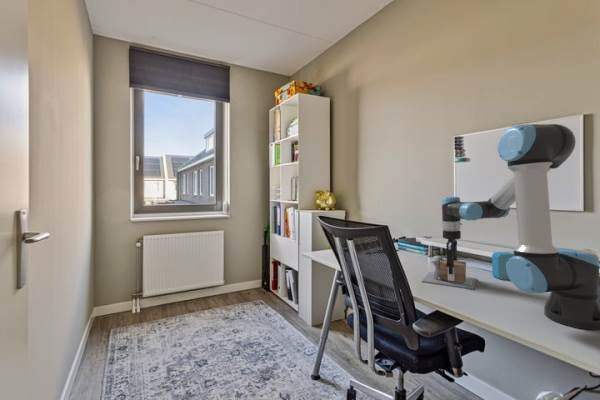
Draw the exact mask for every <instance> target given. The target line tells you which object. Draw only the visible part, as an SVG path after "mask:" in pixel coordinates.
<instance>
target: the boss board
mask: <svg viewBox="0 0 600 400" xmlns="http://www.w3.org/2000/svg"><path fill="white" fill-rule="evenodd" d="M442 259H443V256H439V255H434V256H433V258H431V259H430V262H431V263H432V264H433V271H429V272H428V273H427V274H426V275H425V276H424V278H423V279H422V281H421V282H422V283H426V284H432V285H439V286H447V287H452V288H460V289H467V290H468V289H469V290H474V289H475V286H476V283H477V280H478V278H477V277H471V276H466V279H465V281H464V283H460V282H454V281H448V280H442V279H440V262H441V261H442Z"/></svg>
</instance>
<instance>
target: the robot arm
mask: <svg viewBox="0 0 600 400" xmlns="http://www.w3.org/2000/svg"><path fill="white" fill-rule="evenodd" d="M575 147H576V136H575V134H574V133H573V131H572V130H571V129H570V128H569V127H567V126H565V125H562V124H557V123H556V124H555V123H549V124H546V123H545V124H544V123H543V124H539V123H538V124H537V123H534V124H532V123H525V124H518V125H514V126H511V127H509V128H507V130H505V131H504V132H503V134H502V136H500V139H499V141H498V144H497V152H498V156H499V157H500V158H501V159H502V160H503V161H505V162H506V163H507V169H508V170H510V171H511V172H512V173H513V174H512V176H510V178H508V179H507V181H505V183H503V185H502V186H501V187H500V188H498V190H497V191H496V192H495V193H494V194H493V195H492V196H491V197H490V198H489V199H488V200H482V201H461V198H460V196H445V197H443V198H442V201H441V217H442V220H441V221H442V222H441V223H442V224H441V225H442V238H443V239H444V240H445V239H446V240H447V242H446V259H447V265H446V267H448V281H455V274H454V261H458V248H457V247H458V240H460V239H461V238H462V236H461V235H462V234H461V232H462V231H461V226H462V225H463V224H462V222H461V220H465V221H473V222H474V221H477V220H480V219H481V220H482V219H500V218H505V217H507V216H509V214H510V210H511V208H510V206H512V205H513V204H514V203H515V210H516V223H517V236H518V244H517V245H516V246H515V247H514V248H513V252H514V256H513V257H512V258H510V259H509V260H508V262H507V264H506V271H507V275H508V277H509V279H508V280H510V282H511V283H512V284H513V285H514V286H515V288H516V289H518V290H520V291H522V292H524V293H527V294H544V293H550V294H549V295H548V297H547V299H546V303H545V305H544V307H543V308H544V309H543V310H544V311H543V313H544V316H545V317H547V318H548V319H550V320H551V321H553V322H556V323H558V324H561V325H565V326H568V327H572V328H575V329H576V328H577V329H582V330H583V329H584V330H600V299H599V292H600V290H599V289H600V288H599V287H600V284H599V283H600V280H599V279H600V261H599V259H600V258H599V257H598V255H596V254H595V253H592V252H590V251H584V250H578V249H572V248H566V247H555V246H554V245H553V235H552V222H551V210H550V195H549V182H548V172H550V171H551V170H555V169H558V168H560V166H561V165H563V163H565V162H566V161H567V160H568V159H569V157H570V156H571V155H572V154H573V152H574V150H575Z"/></svg>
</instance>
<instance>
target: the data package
mask: <svg viewBox="0 0 600 400" xmlns="http://www.w3.org/2000/svg"><path fill="white" fill-rule="evenodd" d="M491 256H492V257H491V266H492V267H491V274H492V276H493V277H494V278H497V279H499V280H501V281H502V280H510V279H509V277H508V275H507V271H506V264H507V262H508V260H509V259H510V258H512V257H513V256H514V251H498V252H497V251H495V252H493V253H492V255H491Z"/></svg>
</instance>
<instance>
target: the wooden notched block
mask: <svg viewBox="0 0 600 400" xmlns="http://www.w3.org/2000/svg"><path fill="white" fill-rule="evenodd" d="M446 265H447V258H445V259H444V258H442V260H441V261H440V279H442V280H448V267H446ZM466 271H467V261H461V260H457V261H454V274H455V281H454V282H460V283H464V281H465V279H466V277H467V272H466Z"/></svg>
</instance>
